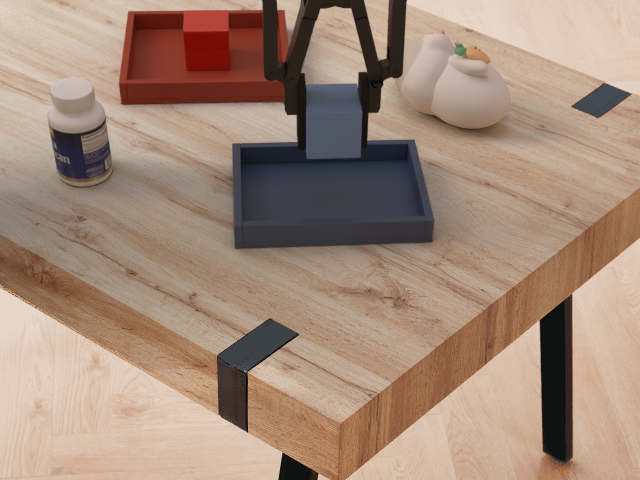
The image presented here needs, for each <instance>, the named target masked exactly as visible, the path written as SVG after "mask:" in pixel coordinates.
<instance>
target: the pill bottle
mask: <svg viewBox="0 0 640 480" xmlns="http://www.w3.org/2000/svg"><path fill="white" fill-rule="evenodd" d="M49 93H50V98H51V100H50V101H51V103H52V105H50V107H49V109H48V110H47V125H48V130H49V134H50V141H51V146H52V152H53V157H54V162H55V168H56V171H57V175H58V177H59V178H60V180H61V181H62V182H63V183H65V184H67V185H71V186H73V187H81V188H82V187H83V188H84V187H91V186H95V185H98V184H100V183H102V182H104V181H105V180H106V179H108V178H109V177H110V175H111V174H112V171H113V159H112V158H113V157H112V152H111V146H110V137H109V132H108V131H109V130H108V124H107V123H108V122H107V117H106V111H105V108H104V105H102V103H101V102H99V100H97V99H96V93H95V87H94V84H93V83H92V82H91V80H88V79H87V78H84V77H80V76H79V77H78V76H72V77H71V76H70V77H64V78H61V79H59V80H57V81H55V82H54V83H53V84H52V85H51V87H50V89H49Z"/></svg>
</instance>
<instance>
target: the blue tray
mask: <svg viewBox="0 0 640 480" xmlns="http://www.w3.org/2000/svg"><path fill="white" fill-rule="evenodd" d="M231 147H232V149H231V151H232V152H231V154H232V157H231V158H232V203H233V205H232V207H233V237H234V249H259V248H260V249H261V248H289V247H318V246H319V247H321V246H346V245H348V246H349V245H350V246H351V245H379V244H406V243H407V244H408V243H409V244H410V243H411V244H412V243H433V238H434V229H435V217H434V213H433V209H432V204H431V201H430V196H429V191H428V187H427V184H426V181H425V175H424V172H423V167H422V164H421V160H420V156H419V155H420V154H419V151H418V147H417V144H416V139H414V138H413V139H370V140H369V139H367V148H361V157H360V158H333V159H307V156H306V150H298V142H297V141H278V142H277V141H275V142H274V141H272V142H271V141H270V142H233V143H231Z"/></svg>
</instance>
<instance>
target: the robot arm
mask: <svg viewBox="0 0 640 480" xmlns="http://www.w3.org/2000/svg"><path fill="white" fill-rule="evenodd" d="M261 2H262V4H261V6H262V8H261V10H262V13H263V65H264V77H265V79H266V80H268V81H274V80H277V81H280V82H281V83H283V85H284V101H283V105H284V111H285V114H286V115H287V116H296V142H298V150H306V84H307V83H306V75H305V74H306V73H305V72H302V70H303V67H304V63H305V61H306V56H307V54H308V49H309V46H310V42H311V39H312V36H313V32H314V28H315V25H316V23H317V21H318V19H319V16H320V11H321V10H326V9H330V8H334V7H336V8H341V9H350V10H351V14H352V18H353V21H354V25H355V29H356V34H357V37H358V41H359V45H360V49H361V53H362V57H363V61H364V66H365V70H366V71H358V72H357V86H358V93H359V98H360V103H361V107H362V135H361V148H367V140H368V136H369V114H378V113H379V112H380V110H381V105H382V104H381V103H382V88H383V86H384V82H385V81H386V80H388V79H391V78H392V79H394V78H395V79H396V78H399V77H401V76H402V74H403V61H404V42H406V41H405V40H406V23H407V22H406V20H407V5H408V4H407V2H408V0H388V8H387V9H388V11H387V12H388V13H387V37H386V57H385V58H383V59H379V57H378V53H377V48H376V44H375V40H374V36H373V35H374V34H373V32H372V27H371V24H370V19H369V15H368V11H367V7H366V3H365V2H366V1H365V0H300V4H299V8H298V12H297V16H296V20H295V23H294V26H293V30H292V34H291V38H290V42H289V44H288V52H287V56H286V59H285V62H282V61H278V17H277V10H278V0H261ZM395 79H394V80H395Z"/></svg>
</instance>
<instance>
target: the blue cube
mask: <svg viewBox="0 0 640 480" xmlns="http://www.w3.org/2000/svg"><path fill="white" fill-rule="evenodd" d="M361 135H362V107H361V103H360V98H359V93H358V82H357V83H311V84H307V83H306V156H307V159H333V158H360V157H361Z"/></svg>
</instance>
